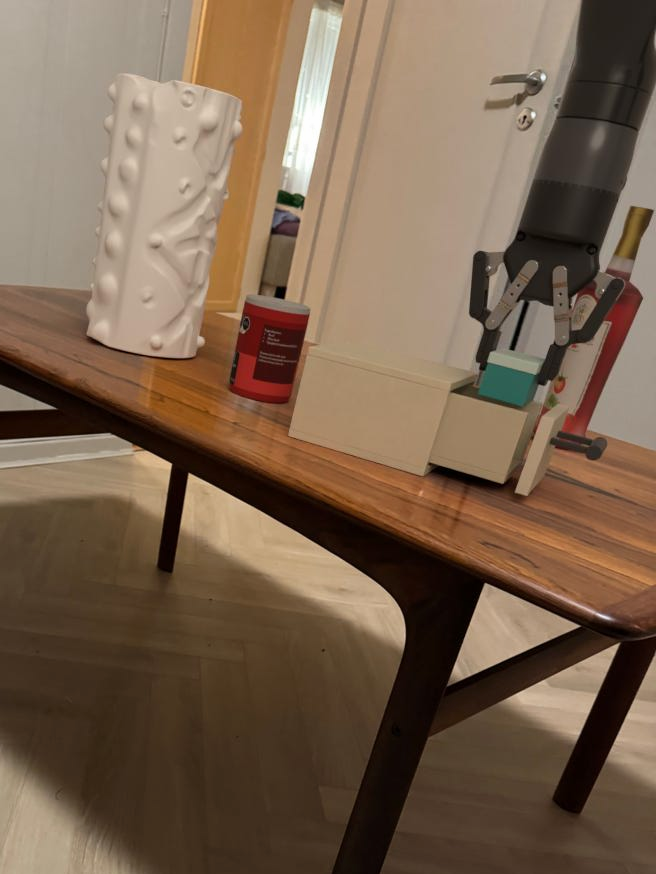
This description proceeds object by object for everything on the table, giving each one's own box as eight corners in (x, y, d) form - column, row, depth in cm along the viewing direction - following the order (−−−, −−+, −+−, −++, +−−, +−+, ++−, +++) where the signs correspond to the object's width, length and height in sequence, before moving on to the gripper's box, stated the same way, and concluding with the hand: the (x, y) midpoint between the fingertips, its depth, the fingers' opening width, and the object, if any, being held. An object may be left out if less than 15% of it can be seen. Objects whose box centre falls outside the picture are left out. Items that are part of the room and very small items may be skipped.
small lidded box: (534, 400, 90) (549, 359, 88) (523, 407, 85) (539, 364, 83) (489, 388, 92) (503, 348, 90) (475, 394, 86) (490, 351, 85)
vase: (148, 362, 117) (193, 78, 103) (58, 333, 125) (88, 65, 111) (221, 359, 130) (270, 106, 116) (135, 333, 138) (171, 92, 124)
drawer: (590, 489, 93) (618, 418, 89) (578, 511, 83) (608, 433, 80) (420, 440, 99) (440, 373, 96) (390, 456, 90) (412, 382, 87)
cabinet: (452, 457, 99) (479, 373, 95) (422, 476, 88) (451, 383, 84) (328, 421, 104) (349, 340, 100) (287, 436, 94) (308, 346, 90)
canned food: (247, 384, 116) (265, 294, 111) (301, 401, 112) (323, 309, 107) (215, 388, 110) (233, 293, 105) (271, 406, 106) (292, 308, 101)
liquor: (514, 434, 118) (596, 199, 106) (553, 437, 121) (637, 210, 109) (556, 451, 112) (647, 205, 100) (596, 454, 116) (689, 216, 103)
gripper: (489, 165, 80) (431, 362, 87) (661, 193, 74) (584, 400, 82) (504, 174, 86) (449, 357, 93) (664, 201, 80) (592, 392, 88)
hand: (513, 376), depth 87 cm, fingers open, 5 cm apart
